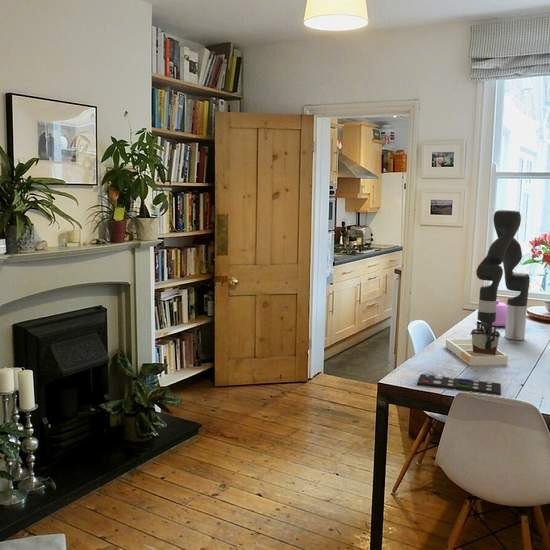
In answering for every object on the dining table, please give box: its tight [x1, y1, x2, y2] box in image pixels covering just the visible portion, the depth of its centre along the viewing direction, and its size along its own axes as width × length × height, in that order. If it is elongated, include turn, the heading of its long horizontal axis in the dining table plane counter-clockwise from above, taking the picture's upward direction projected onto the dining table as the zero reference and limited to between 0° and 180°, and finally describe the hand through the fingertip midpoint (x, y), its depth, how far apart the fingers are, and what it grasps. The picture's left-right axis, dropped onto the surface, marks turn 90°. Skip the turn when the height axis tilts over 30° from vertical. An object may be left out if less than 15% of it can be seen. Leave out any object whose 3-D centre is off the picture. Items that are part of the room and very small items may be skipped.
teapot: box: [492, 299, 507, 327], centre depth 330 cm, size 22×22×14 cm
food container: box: [470, 328, 502, 355], centre depth 262 cm, size 12×6×10 cm, turn 69°
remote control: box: [416, 373, 502, 396], centre depth 231 cm, size 11×30×2 cm, turn 70°
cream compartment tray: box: [445, 338, 509, 366], centre depth 271 cm, size 29×17×4 cm, turn 5°
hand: (484, 347), depth 261 cm, fingers closed on food container, 6 cm apart
